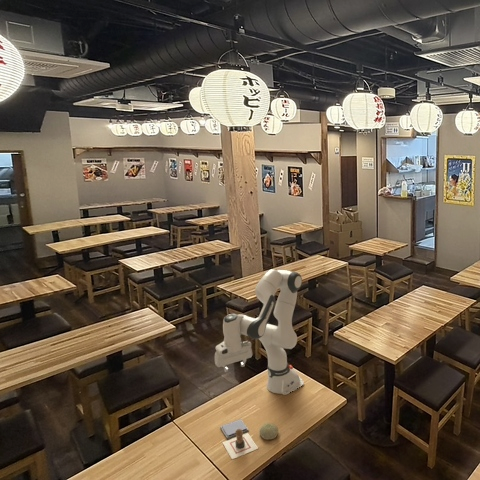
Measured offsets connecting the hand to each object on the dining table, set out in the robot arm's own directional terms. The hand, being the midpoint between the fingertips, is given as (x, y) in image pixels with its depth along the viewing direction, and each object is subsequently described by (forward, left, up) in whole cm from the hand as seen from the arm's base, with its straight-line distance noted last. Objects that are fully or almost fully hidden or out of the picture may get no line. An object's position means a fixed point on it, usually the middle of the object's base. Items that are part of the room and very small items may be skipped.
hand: (234, 368), depth 210 cm
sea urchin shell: (-8, +20, -30) cm, 36 cm away
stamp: (+8, +20, -29) cm, 36 cm away
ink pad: (+6, +8, -29) cm, 31 cm away
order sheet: (+8, +20, -29) cm, 36 cm away
